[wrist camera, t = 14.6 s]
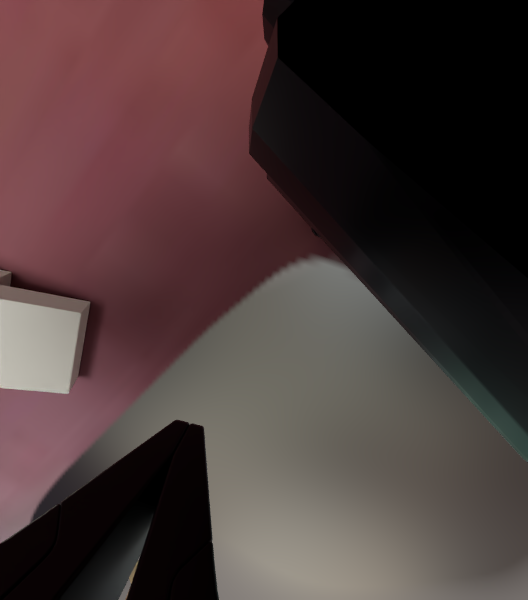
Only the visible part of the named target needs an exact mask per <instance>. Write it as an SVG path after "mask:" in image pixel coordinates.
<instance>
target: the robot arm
mask: <svg viewBox="0 0 528 600" xmlns="http://www.w3.org/2000/svg"><path fill="white" fill-rule="evenodd" d="M262 15H263V27H264V39H265V41H266V43H267V45H268V49H267V52H266V55H265V59H264V62H263V65H262V68H261V71H260V75H259V78H258V81H257V84H256V87H255V91H254V94H253V97H252V104H251V115H250V125H249V154H250V155H251V156H252V157H253V158H254V160H255V161H256V162H257V163H258V164H259V165H260V166H261V167H262V168H263V169H264V170H265V172H266V173H267V179H268V180H269V181H270V182H271V183H272V185H273V186H274V187H275V188H276V189H277V190H278V191H279V192H280V193H281V194H282V196H283V197H284V198H285V199H286V200H287V201H288V202H289V203H290V204H291V205H292V206H293V208H294V209H295V210H296V211H297V212H298V213H299V214H300V215H301V216H302V217H303V219H304V220H305V221H306V222H307V223H308V224H309V225H310V226H311V229H312V232H313V233H314V234H315V235H316V236H318V237H321V238H322V239H323V240H324V241H325V243H326V244H327V245H328V246H329V247H330V248H331V249H332V250H333V251H334V252H335V254H336V255H337V256H338V257H339V258H340V259H341V260H342V261H343V262H344V263H345V264H346V266H347V267H348V268H349V269H350V270H351V271H352V272H353V273H354V274H355V275H356V277H357V278H358V279H359V280H360V281H361V282H362V283H363V284H364V285H365V286H366V287H367V289H368V290H369V291H370V292H371V293H372V294H373V295H374V296H375V297H376V298H377V299H378V301H379V302H380V303H381V304H382V305H383V306H384V307H385V308H386V309H387V310H388V312H389V313H390V314H391V315H392V316H393V317H394V318H395V319H396V320H397V321H398V322H399V324H400V325H401V326H402V327H403V328H404V329H405V330H406V331H407V332H408V333H409V335H411V337H412V338H413V339H414V340H415V341H416V342H417V343H418V344H419V345H420V347H421V348H422V349H423V350H424V351H425V352H426V353H427V354H428V355H429V356H430V357H431V359H432V360H433V361H434V362H435V363H436V364H437V365H438V366H439V367H440V368H441V369H442V370H443V372H444V373H445V374H446V375H447V376H448V377H449V378H450V379H451V380H452V381H453V383H455V385H456V386H457V387H458V388H459V389H460V390H461V391H462V393H463V394H464V395H465V396H466V397H467V398H468V399H469V400H470V401H471V402H472V403H473V404H474V405H475V407H476V408H477V409H478V410H479V411H480V412H481V413H482V414H483V416H484V417H485V418H486V419H487V420H488V421H489V422H490V423H491V424H492V425H493V426H494V427H495V429H496V430H497V431H498V432H499V433H500V434H501V435H502V436H503V437H504V438H505V440H506V441H507V442H508V443H509V444H510V445H511V446H512V447H513V448H514V449H515V450H516V452H517V453H518V454H519V455H520V456H521V457H522V458H523V459H524V460H525V461H527V462H528V0H264V5H263V14H262ZM205 450H206V449H205V436H204V427H203V426H200V425H196V424H190V425H189V423H188V422H184V421H180V420H175V421H173V422H172V423H171V424H169V425H168V426H166V427H165V428H164V429H162V430H161V431H159V432H158V433H157V434H155V435H154V436H152V437H151V438H150V439H148V440H147V441H145V442H144V443H143V444H141V445H140V446H139V447H137V448H136V449H134V450H133V451H132V452H130V453H129V454H127V455H126V456H124V457H123V458H122V459H120V460H119V461H117V462H116V463H115V464H113V465H112V466H111V467H109V468H108V469H106V470H105V471H103V472H102V473H101V474H99V475H98V476H96V477H95V478H94V479H92V480H91V481H89V482H88V483H87V484H85V485H84V486H82V487H81V488H80V489H79V490H77V491H75V492H74V493H73V494H71V495H70V496H69V497H67V498H66V499H64V500H63V501H62V502H61V505H60V504H57V505H56V506H54V507H53V508H52V509H50V510H49V511H47V512H46V513H44V514H43V515H42V516H40V517H39V518H37V519H36V520H34V521H33V522H31V523H30V524H29V525H27V526H26V527H24V528H23V529H21V530H20V531H18V532H17V533H15V534H14V535H13V536H11V537H10V538H8V539H6V540H5V541H3V542H2V543H0V600H118V599H119V597H120V595H121V593H122V591H123V589H124V587H125V585H126V583H127V581H128V579H129V577H130V575H131V573H132V571H133V569H134V567H135V565H136V563H137V561H138V558H139V556H140V559H139V562H138V565H137V568H136V571H135V574H134V577H133V580H132V583H131V587H130V590H129V593H128V596H127V599H126V600H219V597H218V592H217V582H216V574H215V564H214V552H213V543H212V528H211V516H210V502H209V490H208V477H207V463H206V451H205ZM140 554H141V555H140Z"/></svg>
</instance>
